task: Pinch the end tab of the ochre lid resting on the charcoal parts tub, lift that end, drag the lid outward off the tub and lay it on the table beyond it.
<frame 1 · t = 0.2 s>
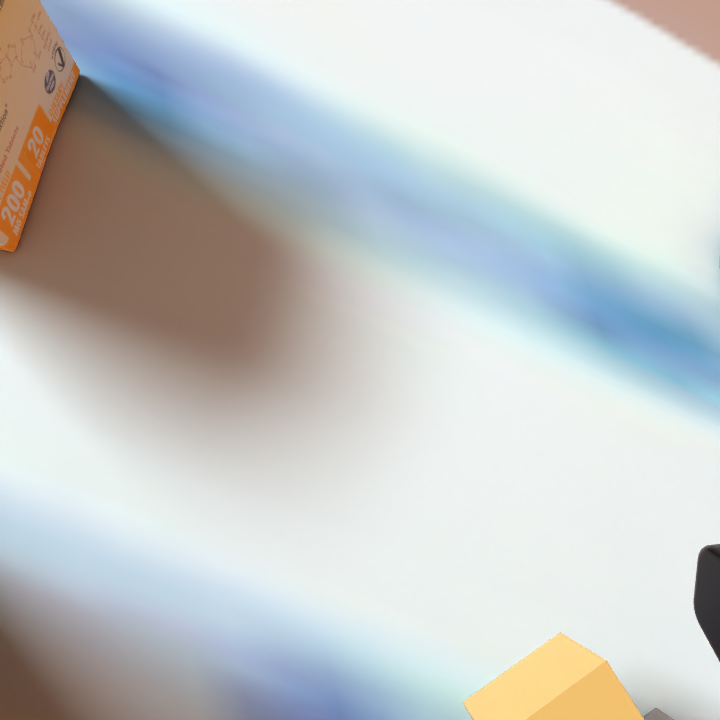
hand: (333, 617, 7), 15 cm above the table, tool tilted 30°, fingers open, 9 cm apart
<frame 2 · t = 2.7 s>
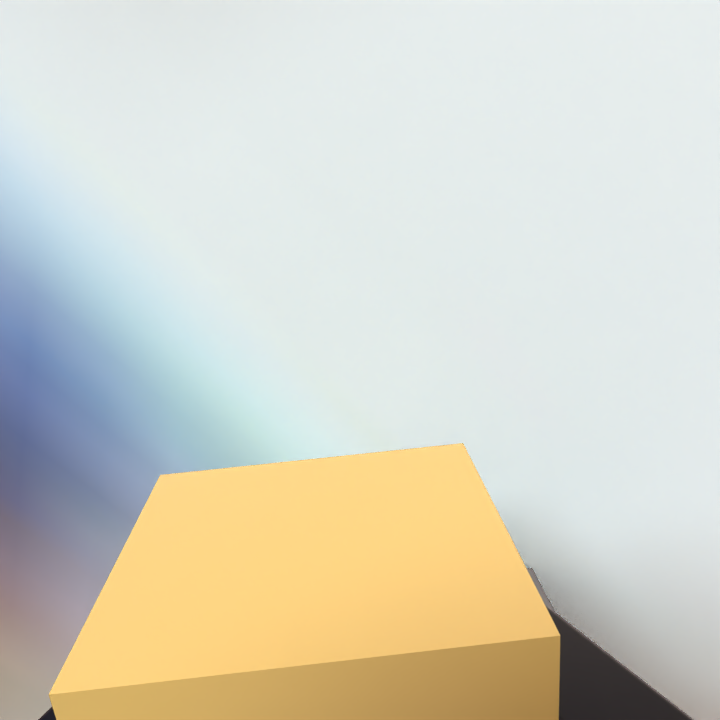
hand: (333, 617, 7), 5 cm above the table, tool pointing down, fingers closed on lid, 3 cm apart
when the fingers open (3 cm above the table, at t = 6.7 s): lid drops 1 cm, on the table.
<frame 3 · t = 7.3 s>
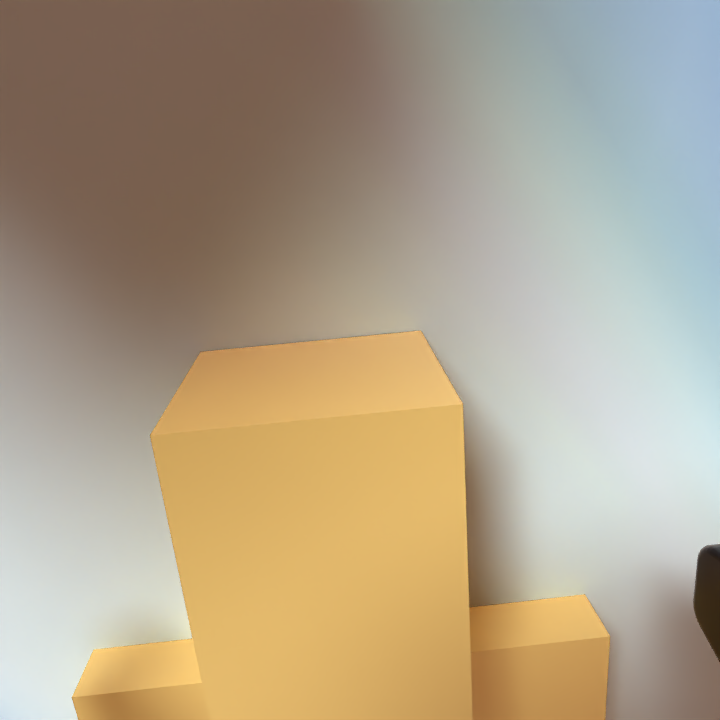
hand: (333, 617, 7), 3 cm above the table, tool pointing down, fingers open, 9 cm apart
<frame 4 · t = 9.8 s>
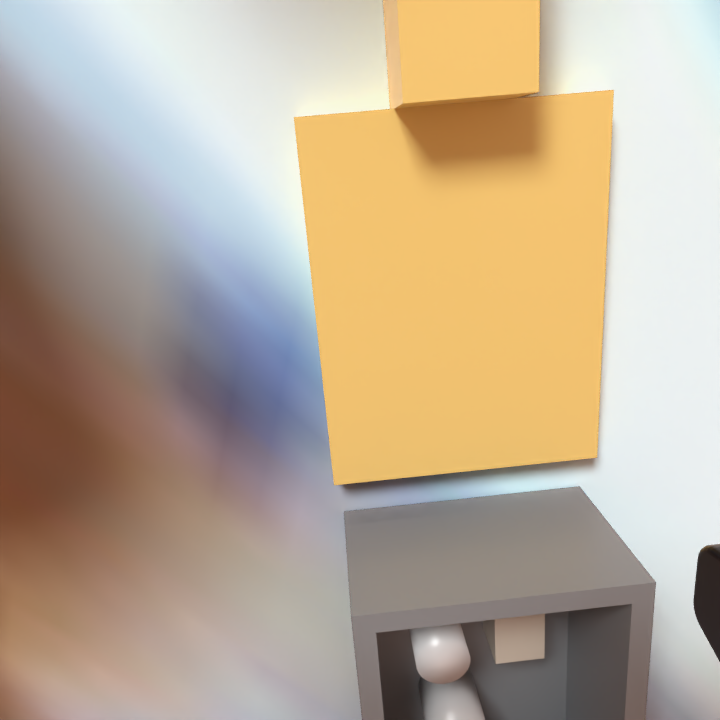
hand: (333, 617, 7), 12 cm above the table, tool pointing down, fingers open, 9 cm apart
tub: (466, 620, 22), on the table
lid: (454, 304, 19), on the table
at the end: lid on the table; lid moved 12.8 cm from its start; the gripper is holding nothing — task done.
